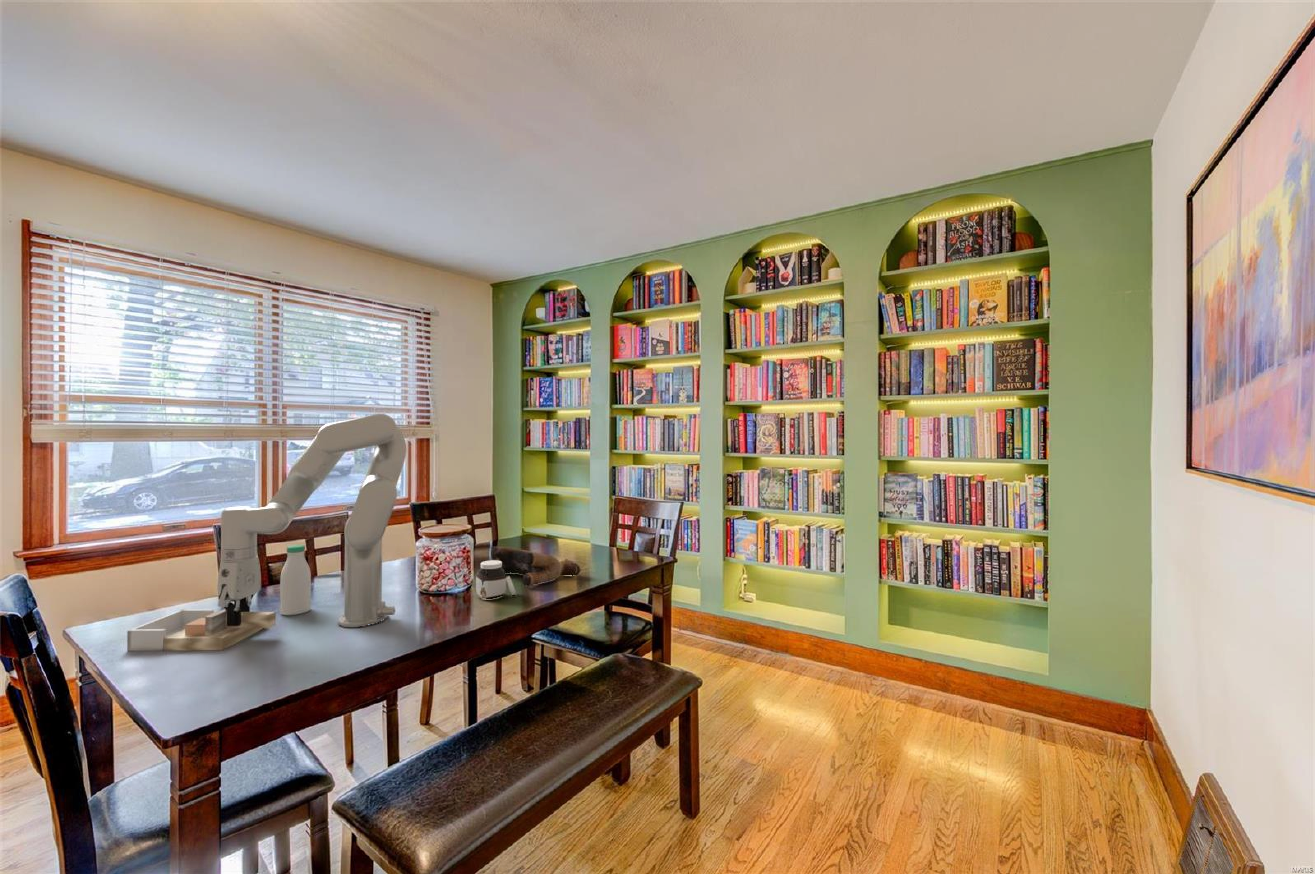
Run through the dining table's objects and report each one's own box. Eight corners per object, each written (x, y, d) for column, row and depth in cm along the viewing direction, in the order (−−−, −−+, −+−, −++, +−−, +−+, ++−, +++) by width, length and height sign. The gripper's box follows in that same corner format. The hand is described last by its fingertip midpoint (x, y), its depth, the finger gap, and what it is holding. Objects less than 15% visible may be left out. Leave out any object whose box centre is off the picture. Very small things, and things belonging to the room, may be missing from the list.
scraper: (286, 618, 148) (287, 602, 148) (256, 634, 136) (256, 617, 136) (239, 618, 148) (240, 602, 148) (205, 634, 136) (205, 617, 136)
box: (213, 627, 149) (213, 609, 149) (162, 650, 133) (163, 630, 133) (181, 627, 149) (181, 609, 149) (127, 650, 133) (127, 630, 133)
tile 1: (220, 627, 141) (220, 617, 141) (205, 634, 136) (205, 624, 136) (200, 627, 141) (201, 617, 141) (185, 634, 136) (185, 624, 136)
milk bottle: (316, 609, 165) (316, 544, 165) (290, 617, 158) (290, 549, 158) (300, 606, 168) (300, 542, 168) (274, 613, 161) (274, 547, 161)
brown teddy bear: (536, 549, 187) (588, 547, 206) (484, 545, 206) (536, 543, 225) (534, 587, 185) (587, 581, 204) (481, 580, 204) (534, 575, 223)
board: (266, 626, 150) (266, 616, 150) (222, 649, 134) (222, 637, 134) (214, 627, 149) (214, 616, 149) (164, 650, 133) (164, 638, 133)
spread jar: (472, 597, 179) (472, 562, 179) (502, 589, 188) (502, 556, 188) (492, 604, 171) (492, 568, 171) (522, 596, 180) (522, 562, 180)
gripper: (231, 560, 134) (230, 634, 134) (274, 547, 150) (273, 613, 150) (199, 560, 134) (199, 634, 134) (246, 547, 150) (245, 613, 150)
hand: (238, 622), depth 142 cm, fingers closed on scraper, 2 cm apart
